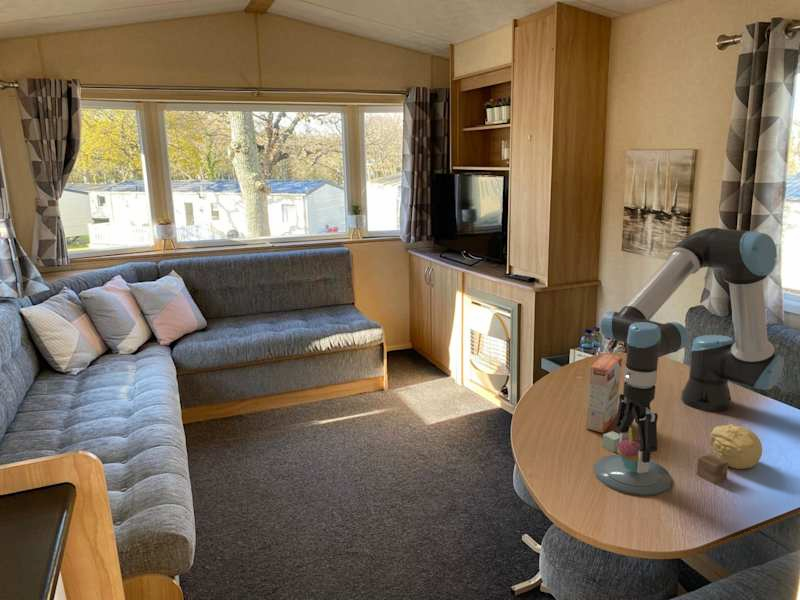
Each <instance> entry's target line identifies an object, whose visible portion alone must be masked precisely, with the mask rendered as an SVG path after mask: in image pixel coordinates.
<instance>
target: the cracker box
mask: <svg viewBox="0 0 800 600" xmlns="http://www.w3.org/2000/svg"><path fill="white" fill-rule="evenodd" d="M622 364H623V357H621V356H617V355H611V354H607V353H606V354H604V355H602V356H600V358H599V359H598V360H597V361H595V362H594V363H593V364H592V365H591V366H590V371H589V384H588V386H589V387H588V399H587V411H586V412H587V413H586V421H585V422H586V423H585V424H586V425H585V429H586V430H589V431H593V432H596V433H597V432H598V433H601V434H605V432H606V431H607V429H609V427H610V426H611V424H612V423H613V422H615V421H616V417H617V412H618V407H619V395H620V387H621V386H620V385H621V375H622V367H623V366H622Z"/></svg>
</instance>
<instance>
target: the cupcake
mask: <svg viewBox="0 0 800 600" xmlns="http://www.w3.org/2000/svg"><path fill="white" fill-rule="evenodd" d="M628 432H629V436H630V439H626V440H623V441H621V442H620V443H619V444H618V445H617V451H616V453H617V454H619V455H620V456H621V458H622V461H623V465H624V467H626V468H627V469H630V470H637V466H638V454H639V449H641V443H640V439H637V438H633V429H632V426H631V427H630V428H629V431H628ZM645 446H646V445H645ZM651 457H652V453H651V454H650V458H651Z"/></svg>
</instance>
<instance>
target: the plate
mask: <svg viewBox="0 0 800 600" xmlns="http://www.w3.org/2000/svg"><path fill="white" fill-rule="evenodd" d="M593 471H594V475H595V477H596V478H597V479H598V481H600V482H601V483H602V484H604V485H605V486H606V487H608V488H610V489H612V490H614V491H618V492H620V493H623V494H627V495H631V496H632V495H633V496H641V497H642V496H643V497H644V496H645V497H650V496H656V495H660V494H663V493H665V492H666V491H668V490H669V489H670V487H671V485H672V476H671V475H670V473H669V471H668V470H667V469H666V468H665V467H664V466H662V465H661V464H659V463H657V462H655V461H653V460H651V459H650V462H649V468H648V472H643V473H638V472H637V470H630V469H627V468H626V467H624V465H623V461H622V458H621V456H619V454H618V453H617V454H609V455H605V456H603V457H600V458H598V459H597V461H596V462H595V463H594V470H593Z"/></svg>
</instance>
